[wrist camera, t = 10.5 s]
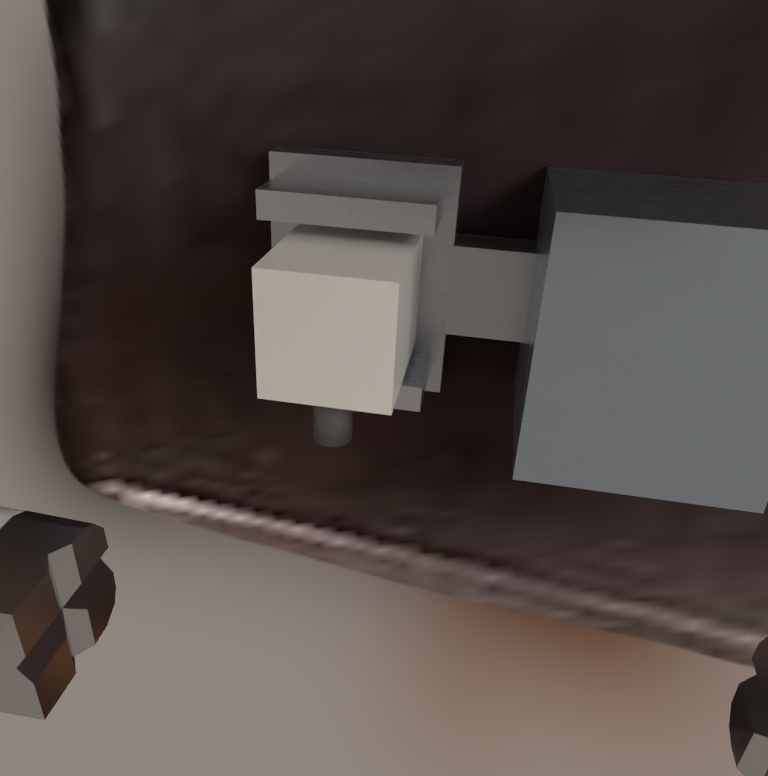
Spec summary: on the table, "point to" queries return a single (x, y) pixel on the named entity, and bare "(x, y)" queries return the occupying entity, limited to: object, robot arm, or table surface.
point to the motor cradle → (582, 313)
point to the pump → (336, 322)
